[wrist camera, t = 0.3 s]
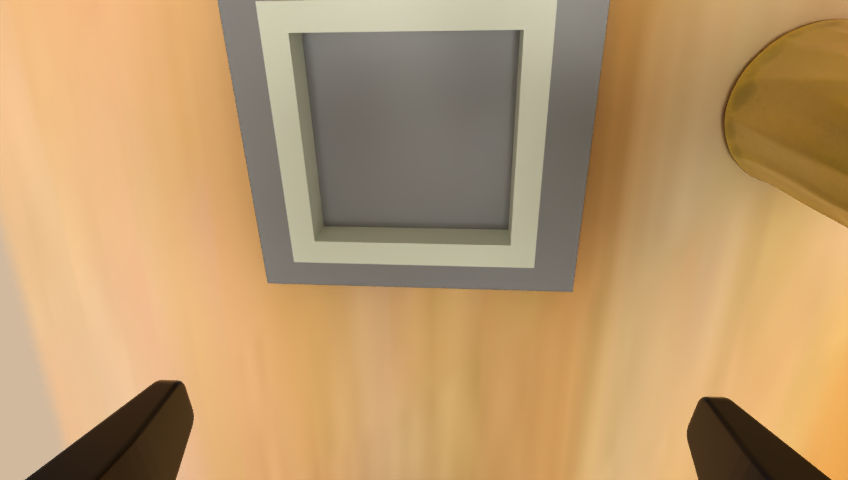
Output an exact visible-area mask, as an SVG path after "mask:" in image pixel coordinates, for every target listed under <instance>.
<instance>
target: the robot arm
mask: <svg viewBox="0 0 848 480" xmlns="http://www.w3.org/2000/svg"><path fill="white" fill-rule="evenodd" d="M193 420H194V414H193V409H192V406H191V403H190V400H189V397H188V394H187V391H186V387H185V385H184V384H183V383H182V382H181V381H177V380H159V381H156V382H155V383H153V384H152V385H150V386H149V387H148V388H146V389H145V390H144V391H142V392H141V393H140V394H138V395H137V396H136V397H134V398H133V399H132V400H130V401H129V402H128V403H126V404H125V405H124V406H122V407H121V408H120V409H118V410H117V411H116V412H114V413H113V414H112V415H110V416H109V417H108V418H106V419H105V420H104V421H102V422H101V423H100V424H98V425H97V426H96V427H94V428H93V429H92V430H90V431H89V432H88V433H86V434H85V435H84V436H82V437H81V438H80V439H78V440H77V441H76V442H74V443H73V444H72V445H70V446H69V447H68V448H66V449H65V450H64V451H62V452H61V453H60V454H58V455H57V456H56V457H55V458H53V459H52V460H51V461H49V462H48V463H47V464H45V465H44V466H43V467H41V468H40V469H39V470H37V471H36V472H35V473H33V474H32V475H31V476H30V477H28V478H27V479H25V480H176V477H177V474H178V471H179V468H180V464H181V461H182V458H183V455H184V451H185V448H186V445H187V442H188V439H189V435H190V432H191V429H192V425H193ZM687 440H688V444H689V448H690V451H691V455H692V458H693V462H694V465H695V469H696V472H697V476H698V480H831V479H830V478H829V477H827V476H826V475H825V474H824V473H822V472H821V471H820V470H818V469H817V468H816V467H815V466H813V465H812V464H811V463H810V462H808V461H807V460H806V459H805V458H803V457H802V456H801V455H800V454H798V453H797V452H796V451H795V450H793V449H792V448H791V447H789V446H788V445H787V444H786V443H784V442H783V441H782V440H781V439H779V438H778V437H777V436H776V435H774V434H773V433H772V432H771V431H769V430H768V429H767V428H765V427H764V426H763V425H762V424H760V423H759V422H758V421H757V420H755V419H754V418H753V417H752V416H750V415H749V414H748V413H747V412H745V411H744V410H743V409H742V408H740V407H739V406H738V405H736V404H735V403H734V402H733V401H731V400H730V399H728V398H725V397H703V398H701V399H700V400H699V402H698V404H697V406H696V408H695V411H694V413H693V416H692V418H691V420H690V423H689V425H688V429H687Z"/></svg>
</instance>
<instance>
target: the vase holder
mask: <svg viewBox="0 0 848 480" xmlns="http://www.w3.org/2000/svg"><path fill="white" fill-rule="evenodd" d="M609 2H610V0H218V5H219V11H220V17H221V22H222V28H223V33H224V39H225V45H226V50H227V56H228V62H229V67H230V73H231V79H232V84H233V90H234V95H235V101H236V107H237V112H238V118H239V124H240V129H241V135H242V140H243V146H244V152H245V157H246V163H247V169H248V174H249V180H250V186H251V191H252V197H253V202H254V208H255V214H256V219H257V225H258V231H259V236H260V242H261V248H262V253H263V259H264V264H265V270H266V276H267V281H268V283H278V284H314V285H349V286H384V287H419V288H455V289H490V290H525V291H561V292H573V284H574V277H575V269H576V261H577V253H578V245H579V237H580V230H581V222H582V214H583V206H584V198H585V190H586V183H587V175H588V167H589V159H590V151H591V143H592V136H593V128H594V120H595V112H596V104H597V96H598V89H599V81H600V73H601V65H602V57H603V49H604V42H605V34H606V26H607V18H608V10H609Z"/></svg>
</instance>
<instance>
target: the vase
mask: <svg viewBox="0 0 848 480" xmlns="http://www.w3.org/2000/svg"><path fill="white" fill-rule="evenodd" d="M724 126H725V135H726V141H727V145H728V149H729V151H730V153H731V155H732V157H733V158H734V160H735V161H736V163H737V164H738V165H739V166H740V167H741V168H742V169H743V170H744V171H745V172H747V173H748V174H749V175H750V176H752V177H755V178H757V179H759V180H762V181H765V182H767V183H769V184H771V185H773V186H775V187H777V188H778V189H780V190H782V191H784V192H785V193H787V194H789V195H790V196H792V197H793V198H795V199H797V200H798V201H800V202H802V203H803V204H805V205H807V206H809V207H811V208H812V209H814V210H816V211H818V212H820V213H822V214H823V215H825V216H827V217H829V218H831V219H833V220H835V221H836V222H838V223H840V224H842V225H844V226H845V227H847V228H848V19H833V20H825V21H820V22H816V23H812V24H809V25H805V26H803V27H800V28H798V29H795V30H793V31H791V32H789V33H787V34H786V35H784V36H782V37H780V38H779V39H777V40H776V41H775V42H773V43H772V44H770V45H769V46H768V47H767V48H765V49H764V50H763V51H762V52H761V53H760V54H759V55H758V56H757V57H755V59H754V60H753V61H752V62H751V63H750V64H749V65H748V66H747V68H746V69H745V70H744V71H743V73H742V74H741V76H740V77H739V79H738V81H737V83H736V84H735V86H734V88H733V91H732V93H731V95H730V98H729V100H728V103H727V107H726V111H725V119H724Z"/></svg>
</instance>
